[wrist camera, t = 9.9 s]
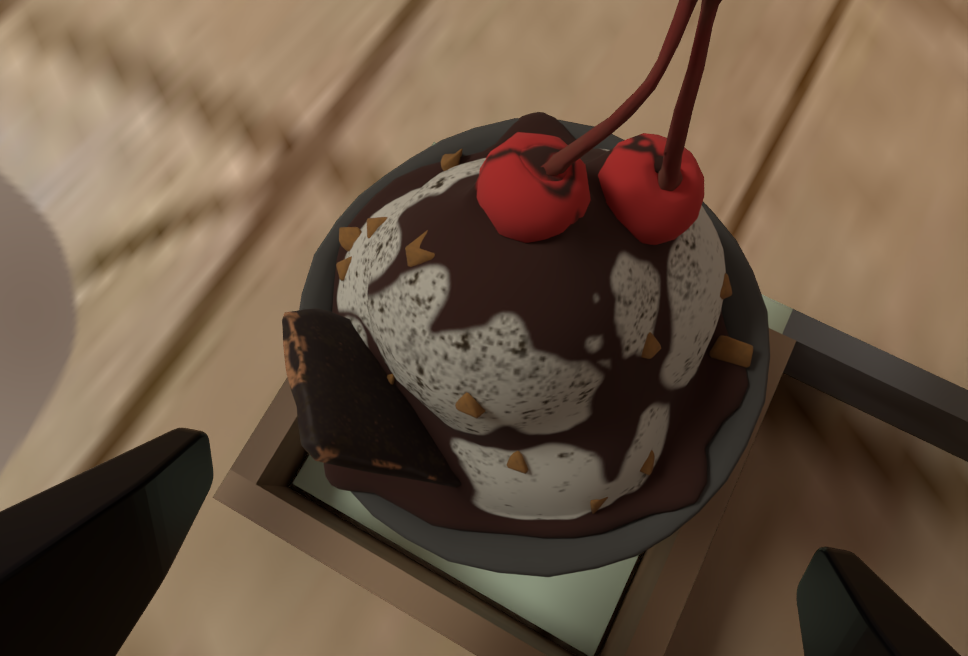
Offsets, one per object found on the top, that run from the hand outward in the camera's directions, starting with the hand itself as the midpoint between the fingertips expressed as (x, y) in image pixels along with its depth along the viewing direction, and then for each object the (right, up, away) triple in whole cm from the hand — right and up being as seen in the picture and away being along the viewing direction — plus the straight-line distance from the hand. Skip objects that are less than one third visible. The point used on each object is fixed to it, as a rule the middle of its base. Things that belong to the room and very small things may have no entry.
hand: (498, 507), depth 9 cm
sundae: (+1, 0, +10) cm, 10 cm away
